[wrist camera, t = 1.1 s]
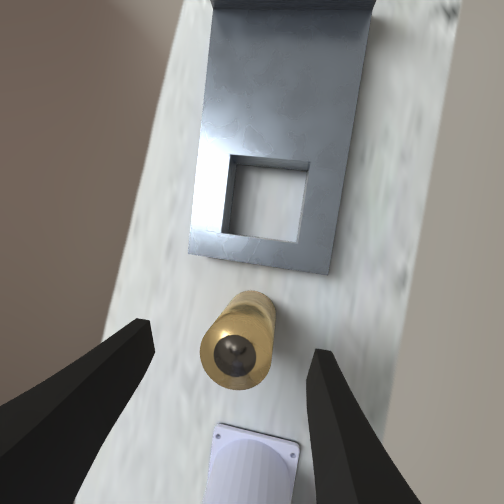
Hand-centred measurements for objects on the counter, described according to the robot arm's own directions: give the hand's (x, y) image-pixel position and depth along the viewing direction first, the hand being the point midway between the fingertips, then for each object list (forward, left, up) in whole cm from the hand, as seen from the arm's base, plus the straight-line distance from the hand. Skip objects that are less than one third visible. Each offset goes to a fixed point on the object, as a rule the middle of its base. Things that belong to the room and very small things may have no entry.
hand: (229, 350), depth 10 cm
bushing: (-2, 0, -11) cm, 11 cm away
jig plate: (+13, 0, -11) cm, 17 cm away
